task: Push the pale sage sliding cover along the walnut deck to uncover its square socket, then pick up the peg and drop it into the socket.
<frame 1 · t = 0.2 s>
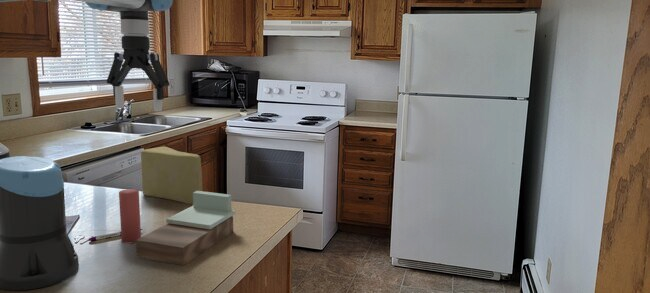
hand: (138, 109, 145), 28 cm above the countertop, fingers open, 13 cm apart
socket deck: (202, 234, 123), on the countertop
peg: (131, 239, 119), on the countertop
cover: (201, 208, 122), point 7 cm above the countertop, slide at 0.0 cm
cheese: (177, 199, 153), on the countertop
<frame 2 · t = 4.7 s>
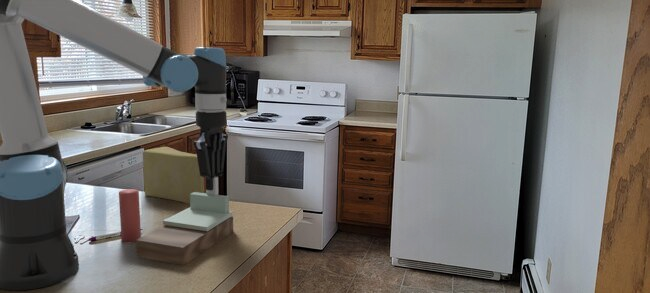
hand: (212, 201, 127), 7 cm above the countertop, fingers closed
cover: (198, 210, 121), point 7 cm above the countertop, slide at 1.3 cm, touching gripper
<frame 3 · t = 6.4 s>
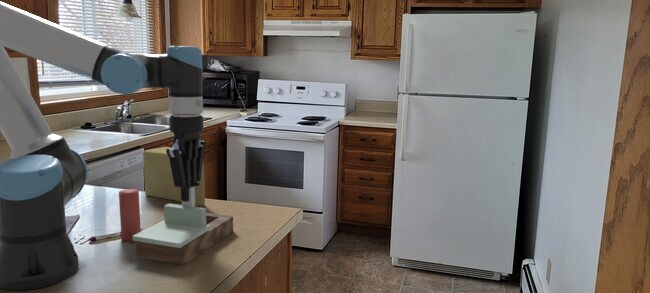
hand: (188, 213, 117), 7 cm above the countertop, fingers closed
cover: (172, 224, 111), point 7 cm above the countertop, slide at 12.0 cm, touching gripper
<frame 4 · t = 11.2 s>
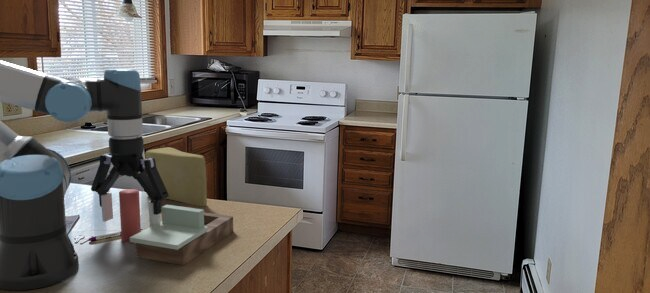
hand: (131, 223, 119), 4 cm above the countertop, fingers open, 13 cm apart
cover: (169, 225, 110), point 7 cm above the countertop, slide at 13.0 cm, touching gripper
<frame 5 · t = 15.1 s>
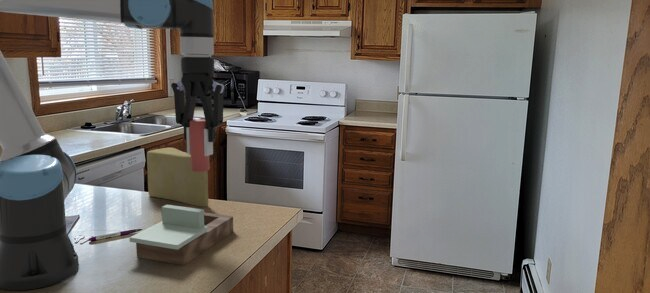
hand: (200, 153, 120), 21 cm above the countertop, fingers closed on peg, 4 cm apart
peg: (200, 169, 120), point 17 cm above the countertop, touching gripper
cover: (169, 225, 110), point 7 cm above the countertop, slide at 12.9 cm
when the fingers open (5 cm above the countertop, at t = 18.2 s): peg drops 2 cm, resting in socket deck.
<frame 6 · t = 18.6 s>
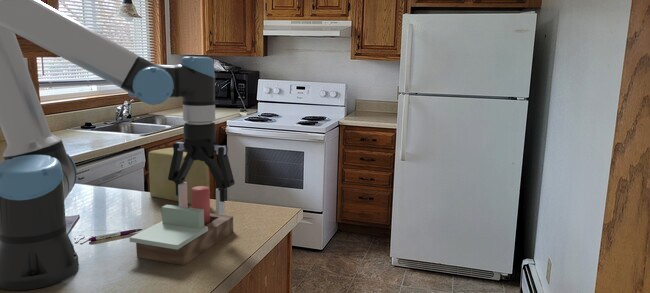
hand: (201, 211, 122), 6 cm above the countertop, fingers open, 10 cm apart
peg: (201, 234, 123), resting in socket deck
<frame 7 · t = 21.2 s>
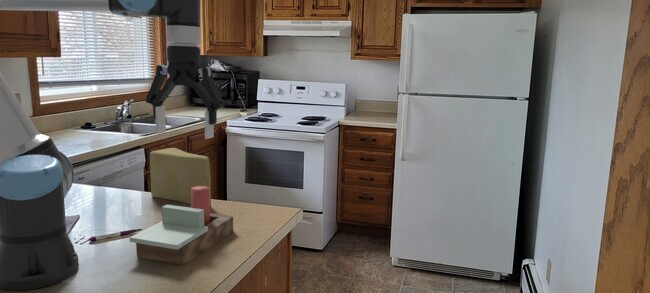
hand: (184, 135, 119), 25 cm above the countertop, fingers open, 13 cm apart
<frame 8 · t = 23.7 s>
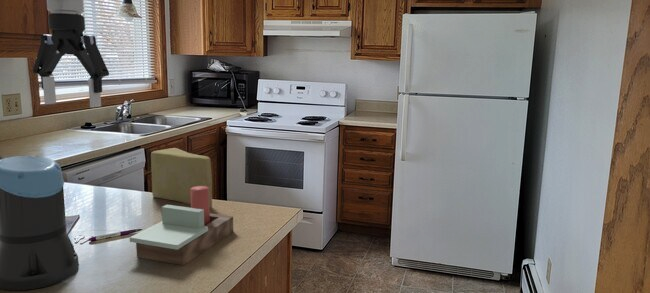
hand: (72, 105, 118), 32 cm above the countertop, fingers open, 13 cm apart
at the end: cover slide at 12.9 cm; peg 0.2 cm off-centre on the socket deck, point 0.0 cm above the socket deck's base; peg tilted 1° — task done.
